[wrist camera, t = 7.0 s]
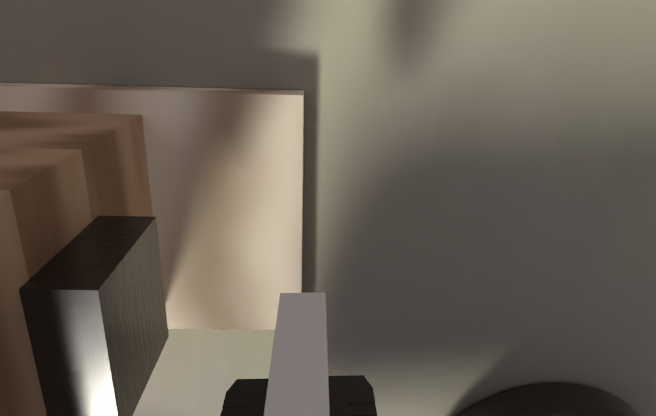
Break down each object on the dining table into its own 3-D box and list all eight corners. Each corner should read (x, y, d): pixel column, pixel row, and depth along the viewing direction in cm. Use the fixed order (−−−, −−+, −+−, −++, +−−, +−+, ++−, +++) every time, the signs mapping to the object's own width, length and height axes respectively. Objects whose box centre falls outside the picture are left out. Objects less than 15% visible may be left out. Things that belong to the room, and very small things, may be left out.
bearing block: (304, 90, 23) (287, 200, 9) (301, 313, 27) (288, 609, 14) (-144, 78, 22) (-859, 178, 9) (-74, 309, 27) (-476, 614, 13)
